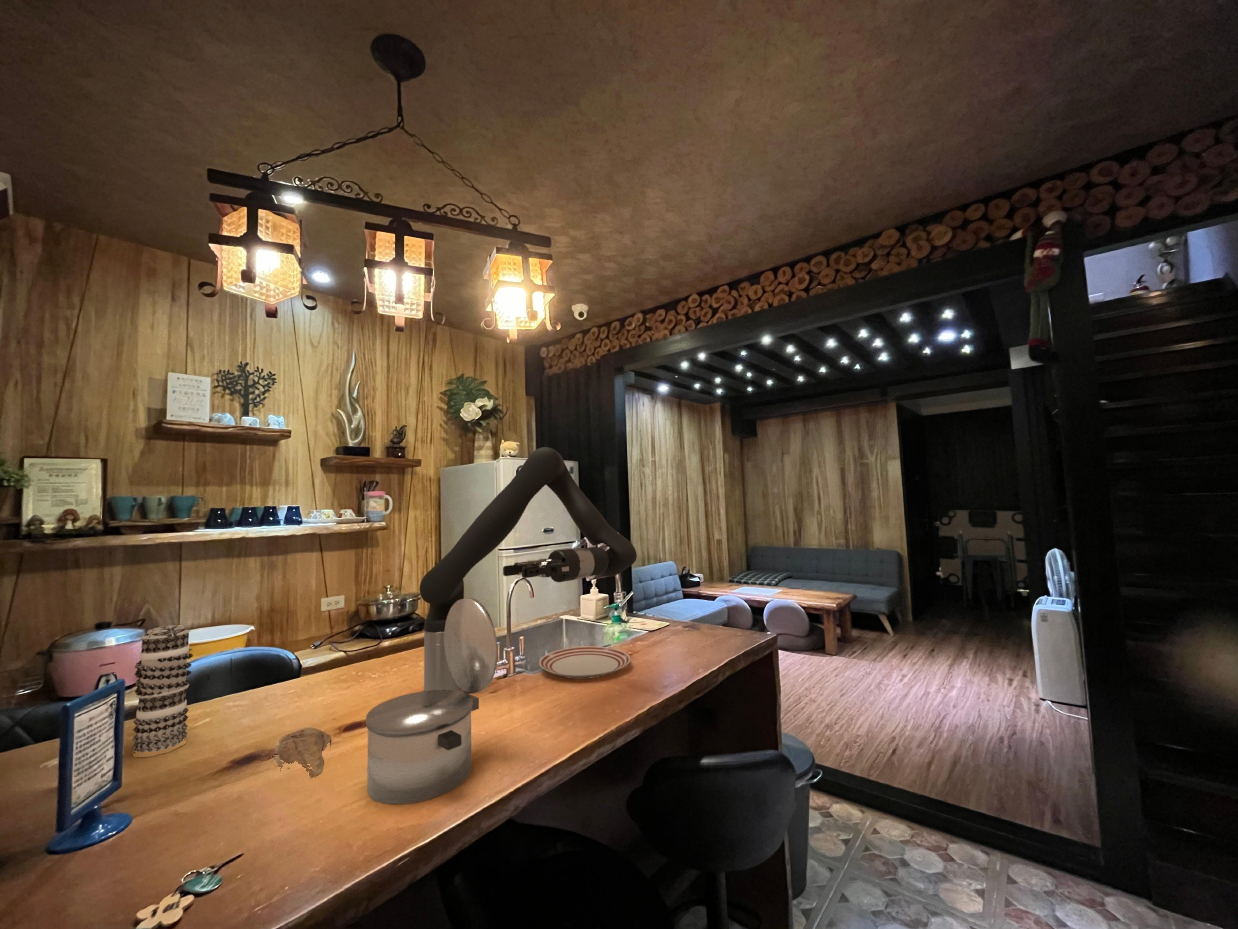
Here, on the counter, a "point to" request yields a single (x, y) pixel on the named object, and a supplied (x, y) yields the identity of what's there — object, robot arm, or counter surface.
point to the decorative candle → (162, 689)
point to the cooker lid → (470, 645)
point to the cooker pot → (419, 745)
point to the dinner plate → (584, 661)
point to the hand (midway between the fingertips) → (513, 572)
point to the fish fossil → (303, 749)
